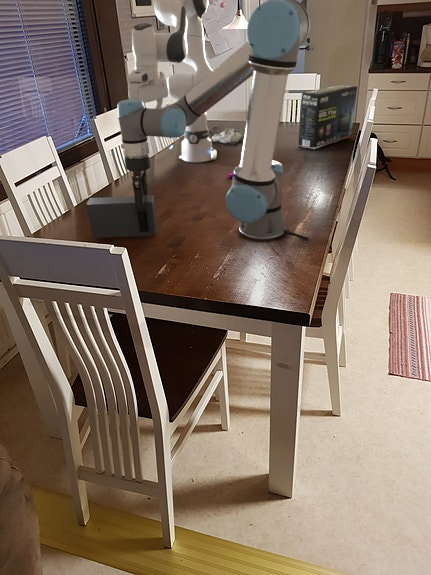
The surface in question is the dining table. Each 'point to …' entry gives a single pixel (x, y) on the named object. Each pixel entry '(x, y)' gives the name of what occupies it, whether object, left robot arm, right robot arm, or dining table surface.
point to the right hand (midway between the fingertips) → (145, 226)
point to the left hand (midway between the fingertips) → (151, 113)
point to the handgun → (230, 175)
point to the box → (119, 217)
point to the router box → (326, 115)
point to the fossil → (228, 136)
